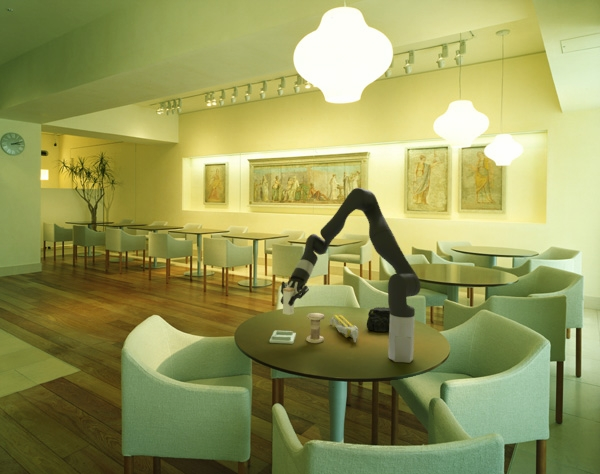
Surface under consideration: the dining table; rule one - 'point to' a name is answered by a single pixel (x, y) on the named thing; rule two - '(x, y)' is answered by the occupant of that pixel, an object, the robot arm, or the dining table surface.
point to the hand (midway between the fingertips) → (285, 303)
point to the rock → (379, 319)
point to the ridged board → (283, 337)
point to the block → (287, 300)
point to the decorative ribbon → (345, 327)
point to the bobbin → (315, 328)
